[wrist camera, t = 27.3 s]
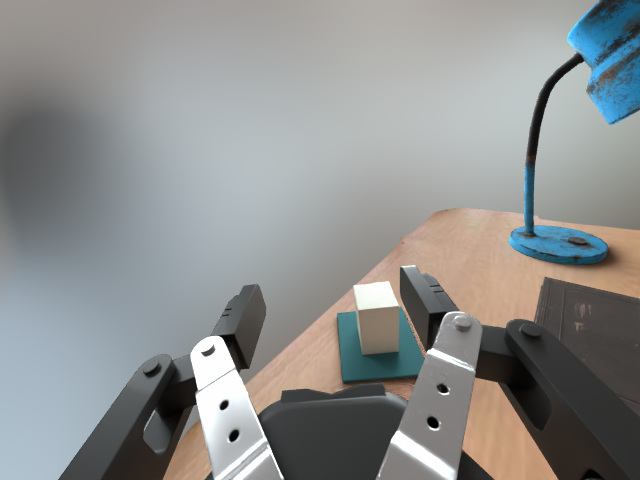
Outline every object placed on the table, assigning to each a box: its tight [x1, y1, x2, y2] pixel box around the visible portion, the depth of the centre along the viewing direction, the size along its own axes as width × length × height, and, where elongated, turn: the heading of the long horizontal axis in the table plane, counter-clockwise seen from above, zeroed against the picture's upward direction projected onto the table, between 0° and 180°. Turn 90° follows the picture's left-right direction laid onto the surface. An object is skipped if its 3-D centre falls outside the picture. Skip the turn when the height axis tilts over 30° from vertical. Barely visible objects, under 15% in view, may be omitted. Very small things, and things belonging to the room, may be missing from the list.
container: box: [353, 282, 399, 355], centre depth 35 cm, size 6×6×9 cm
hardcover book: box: [534, 277, 640, 417], centre depth 30 cm, size 16×23×2 cm
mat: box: [337, 307, 424, 383], centre depth 37 cm, size 12×13×1 cm
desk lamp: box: [509, 0, 640, 264], centre depth 42 cm, size 16×22×45 cm
